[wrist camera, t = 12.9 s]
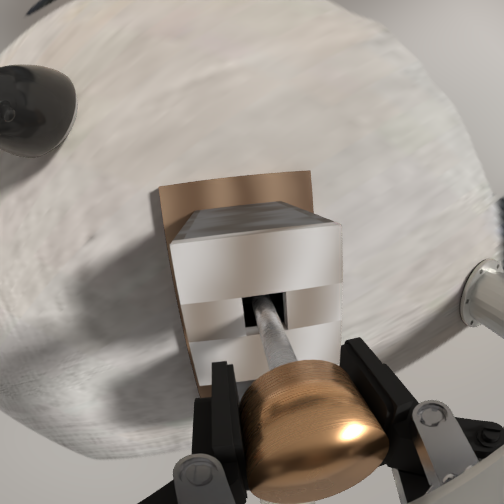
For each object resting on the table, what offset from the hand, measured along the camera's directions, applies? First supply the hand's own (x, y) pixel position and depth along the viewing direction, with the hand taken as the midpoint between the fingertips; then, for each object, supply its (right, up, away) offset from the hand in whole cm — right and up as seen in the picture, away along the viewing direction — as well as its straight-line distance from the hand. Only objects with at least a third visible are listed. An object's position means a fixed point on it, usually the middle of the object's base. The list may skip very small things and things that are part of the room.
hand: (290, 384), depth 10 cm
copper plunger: (-2, +4, +15) cm, 16 cm away
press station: (-2, -1, +25) cm, 25 cm away
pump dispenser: (-25, +21, +17) cm, 37 cm away
